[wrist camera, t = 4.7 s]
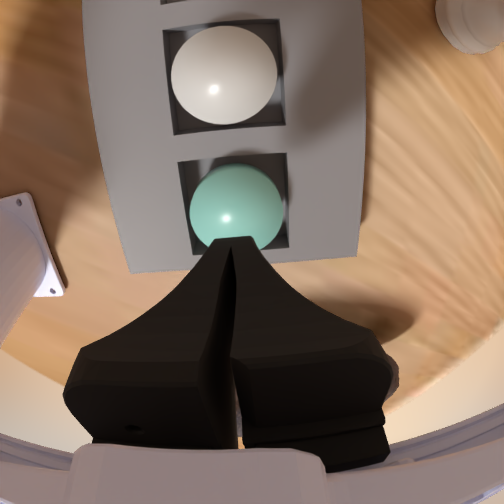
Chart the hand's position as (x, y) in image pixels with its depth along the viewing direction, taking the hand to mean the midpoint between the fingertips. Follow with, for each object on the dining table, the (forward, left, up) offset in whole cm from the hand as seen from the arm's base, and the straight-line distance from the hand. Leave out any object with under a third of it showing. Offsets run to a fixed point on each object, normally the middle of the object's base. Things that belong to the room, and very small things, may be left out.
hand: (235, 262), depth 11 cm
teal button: (0, 0, -6) cm, 6 cm away
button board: (0, +6, -7) cm, 10 cm away
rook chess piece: (+14, +11, -8) cm, 19 cm away
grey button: (0, +6, -6) cm, 8 cm away
